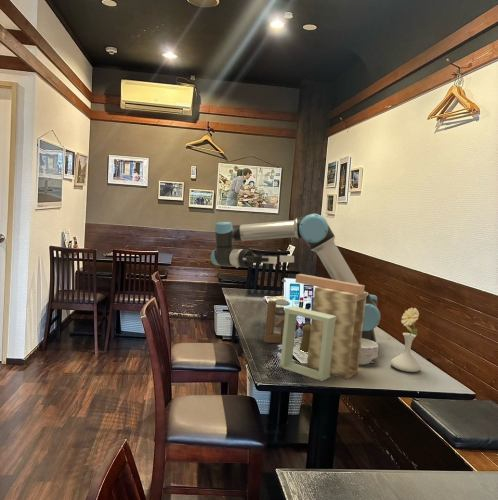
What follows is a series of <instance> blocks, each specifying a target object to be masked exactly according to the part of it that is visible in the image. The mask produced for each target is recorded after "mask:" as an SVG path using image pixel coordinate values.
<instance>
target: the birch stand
mask: <svg viewBox="0 0 498 500" xmlns="http://www.w3.org/2000/svg"><path fill="white" fill-rule="evenodd" d="M365 292H366V291H365ZM365 292H364V294H361V295H358V294H353V293H348V292H342V291H337V290H332V289H327V288H322V287H317V286H314V295H313V304H312V311H316V312H321V313H325V314H329V315H334V316H337V317H336V321H335V329H334V338H333V347H332V356H331V366H330V376H331V375H332V376H334V377H338V378H342V379H344V380H348V379H349V378H352V377H353V376H354V375H356V374H357V373H358V372H359V366H360V364H359V357H360V348H361V339H362V331H363V322H364V313H365V305H366V296H367V293H365ZM310 320H311V323H310V325H311V330H310V340H309V349H308V353H307V360H306V361H307V362H306V367H308V368H311V369H314V370H317V371H319V363H320V354H321V344H322V335H323V326H324V322H322V321H318V320H314V319H310Z"/></svg>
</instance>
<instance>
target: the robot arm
mask: <svg viewBox="0 0 498 500" xmlns="http://www.w3.org/2000/svg"><path fill="white" fill-rule="evenodd" d="M214 225H215V226H214V227H215V228H214V229H215V230H214V233H215V249H213V250H212V251H211V254H210V260H211V261H210V262H211V263H212V264H213V265H215V266H219V267H235V268H236V269H238V268H240V267H241V268H250V267H253V265H254V264H257V265H259V266H260V265H262V264H272V265H273V264H274V265H275V264H276V265H277V264H278V262H279V263H295V255H282V253H279V255H266V254H264V253H263V254H259V253H254V251H253V250H252V249H247V248H245V249H242V248H234V245H233V244H234V242H244V241H245V242H246V241H256V240H257V241H258V240H269V239H285V238H296V239H298V240H302V239H303V241H305V243H306V245H307V246H308V247H309V249H310V251H311V252H312V251H313V252H315V253H316V255H317V256H318V257H319V259H320V261H321V263H322V265H323V266H324V269H326V271H327V274H328V275H329V276H330V279H332V280H338V281H343V282H349V283H354V284H359V282H358V280H357V279H356V277H355V274H353V272H352V270H351V269H350V266H349V265H348V263H347V262H346V260H345V258H344V256H343V255H342V253H341V252H340V249H339V248H338V246H337V244H336V243H335V239H336V235H335V234H334V233H333V231H332V229H331V227H330V226H329V224H328V221H327V220H326V218H325V217H324V216H322V215H320V214H319V213H310V214H307V215H305V216H301V217H295V219H293V220H281V221H271V222H270V221H269V222H268V221H267V222H260V223H259V222H258V223H249V224H248V223H246V224H244V223H243V224H236V225H233V223H232V222H231V221H220V222H215V224H214ZM364 292H365V293H367V296H366V305H365V313H364V322H363V331H362V338H364V339H368V340H371V341H374V342H376V343H377V339H376V334H375V328H377V326H379V324H380V321H381V312H380V310H379V308H378V306H377V304H378V296H377V295H375V294H369V292H367V291H365V290H364Z"/></svg>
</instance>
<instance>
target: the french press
mask: <svg viewBox="0 0 498 500" xmlns="http://www.w3.org/2000/svg"><path fill="white" fill-rule="evenodd" d="M281 282H283V284H282V287H284V283H286V282H287V280H286V279H284V278H283V279H282V280H281ZM283 293H284V290H282V294H281V297H283ZM274 301H276V306H280V307H282V306H283V307H284V306H290V305H291V303H290V302H289V301H288V300H286V299H283V298H281V299H279V298H278V299H275V300H274ZM284 315H285V309H282V308H279V309H278V308H276V311H275V322H274V324H275V323H276V322H277V321H278V320H280V319H281V318H282V317H283V316H284ZM273 333H277V334H281V327H274V332H273Z"/></svg>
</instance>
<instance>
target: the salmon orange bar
mask: <svg viewBox="0 0 498 500" xmlns="http://www.w3.org/2000/svg"><path fill="white" fill-rule="evenodd" d="M295 283H298V284H302V285H308V286H312V287H322V288H327V289H332V290H337V291H342V292H348V293H353V294H358V295H361V294H364V291H365V288H366V287H365V285H364V284H359V283H358V284H354V283H349V282H343V281H338V280H332V278H326V277H320V276H315V275H308V274H305V273H304V274H303V273H298V274H296V275H295Z"/></svg>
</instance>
